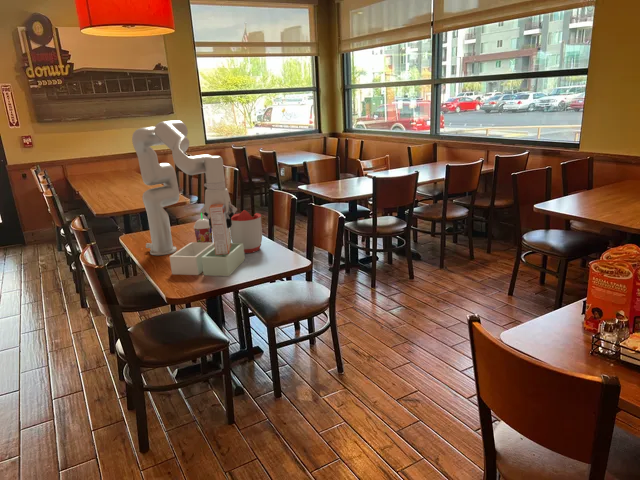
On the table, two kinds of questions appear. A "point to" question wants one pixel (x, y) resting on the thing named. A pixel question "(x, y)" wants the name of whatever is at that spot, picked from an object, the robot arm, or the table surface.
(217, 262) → the bin
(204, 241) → the smoothie
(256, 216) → the citrus juicer
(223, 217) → the cracker box
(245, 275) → the table surface
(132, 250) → the table surface
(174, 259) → the white open tray
